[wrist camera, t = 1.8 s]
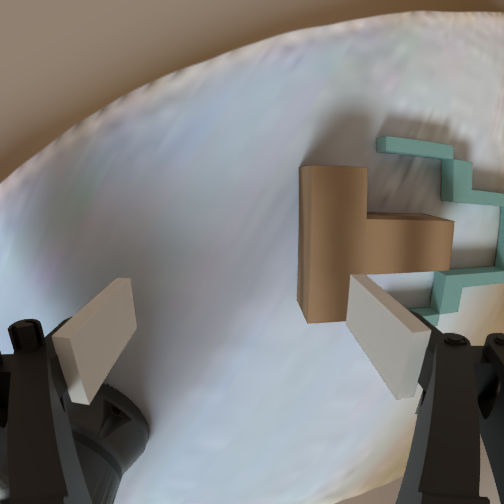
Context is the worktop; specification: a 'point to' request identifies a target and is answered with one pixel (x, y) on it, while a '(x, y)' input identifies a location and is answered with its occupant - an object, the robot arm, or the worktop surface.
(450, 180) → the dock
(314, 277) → the t block
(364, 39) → the worktop surface
